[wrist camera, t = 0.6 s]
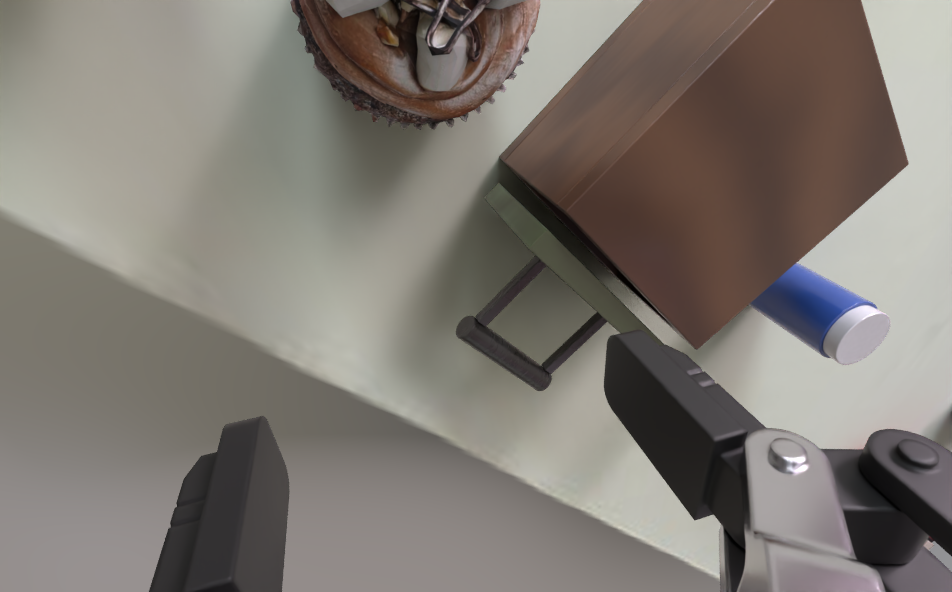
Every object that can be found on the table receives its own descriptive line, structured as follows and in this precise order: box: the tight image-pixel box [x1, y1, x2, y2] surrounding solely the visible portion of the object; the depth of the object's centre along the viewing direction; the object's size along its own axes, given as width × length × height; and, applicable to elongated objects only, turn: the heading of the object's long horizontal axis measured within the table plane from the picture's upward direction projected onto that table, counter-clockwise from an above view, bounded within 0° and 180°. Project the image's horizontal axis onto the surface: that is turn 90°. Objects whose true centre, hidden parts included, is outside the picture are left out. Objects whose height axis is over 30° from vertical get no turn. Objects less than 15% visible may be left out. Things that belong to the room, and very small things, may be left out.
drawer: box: [456, 183, 664, 391], centre depth 27 cm, size 19×12×7 cm, turn 135°
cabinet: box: [499, 0, 909, 350], centre depth 26 cm, size 14×13×9 cm
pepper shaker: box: [749, 263, 891, 365], centre depth 34 cm, size 4×4×9 cm
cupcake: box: [291, 0, 540, 130], centre depth 18 cm, size 10×10×10 cm
